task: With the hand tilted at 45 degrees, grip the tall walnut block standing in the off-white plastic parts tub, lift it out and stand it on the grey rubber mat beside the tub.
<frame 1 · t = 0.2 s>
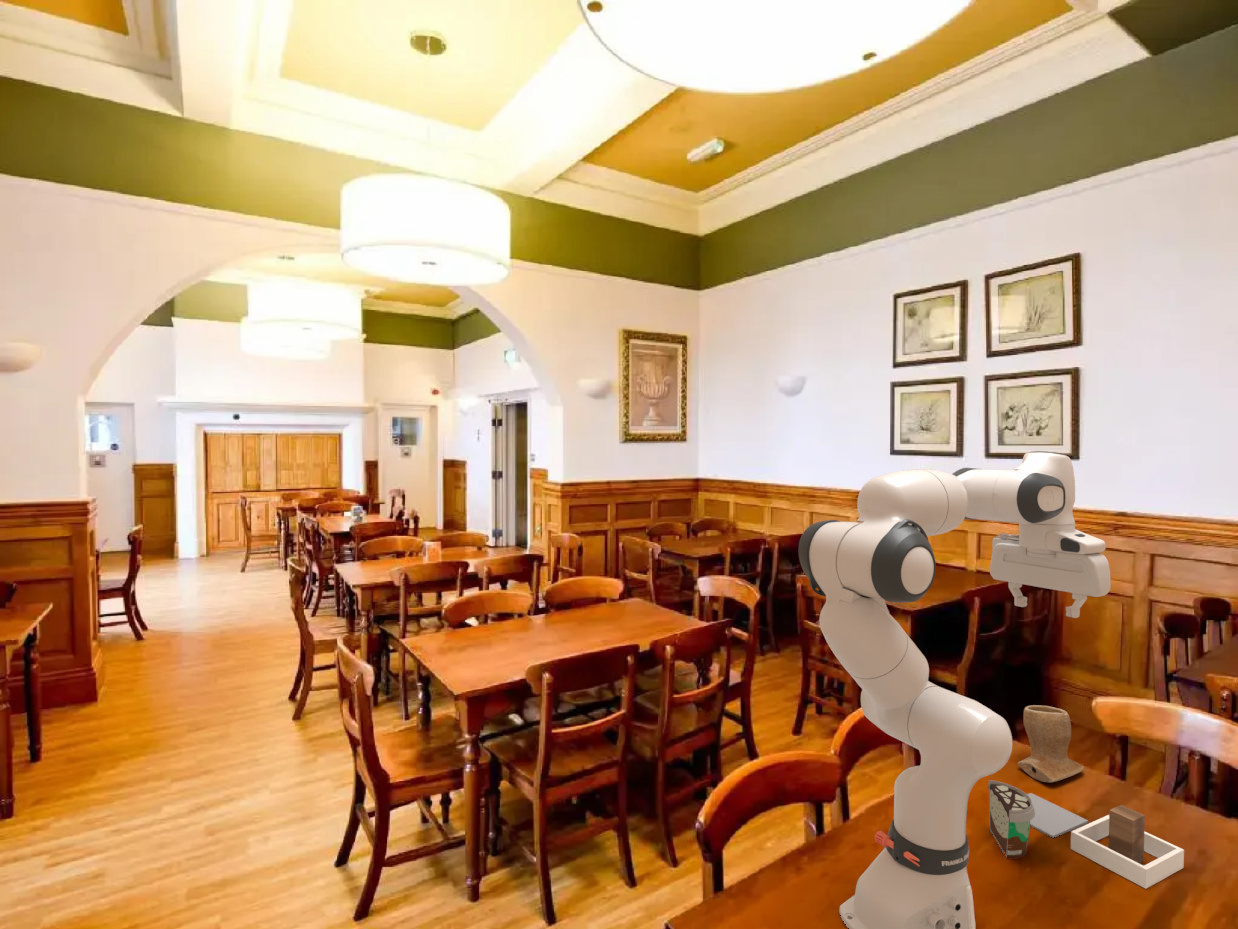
hand: (1045, 611, 125), 48 cm above the table, tool pointing down, fingers open, 8 cm apart
walnut block: (1126, 835, 127), in the parts tub
food container: (1014, 846, 131), on the table
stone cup: (1046, 772, 160), on the table
rubber mat: (1041, 815, 142), on the table
parts tub: (1125, 858, 127), on the table
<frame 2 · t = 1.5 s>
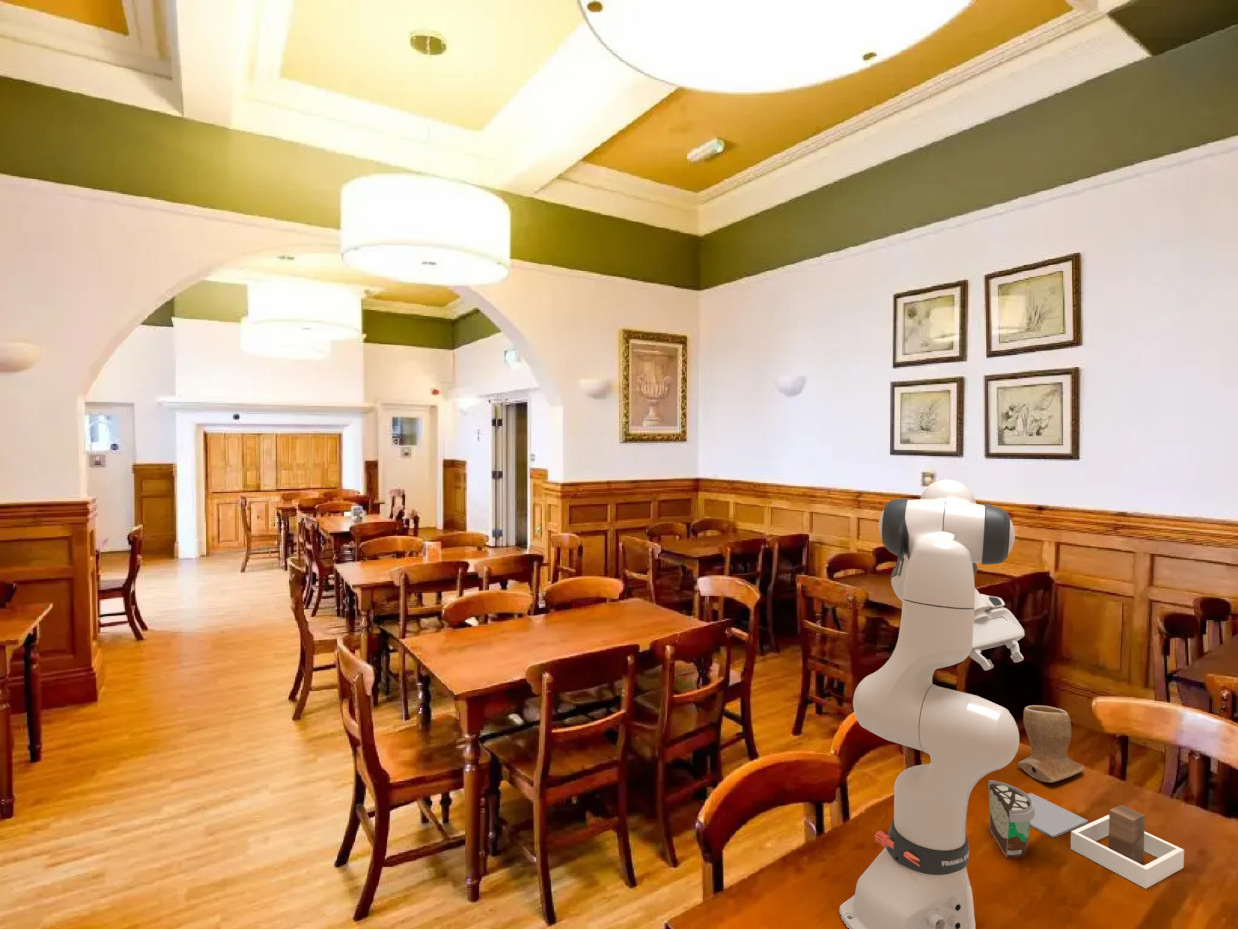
hand: (1004, 665, 148), 30 cm above the table, tool tilted 45°, fingers open, 8 cm apart
nothing on the table moved.
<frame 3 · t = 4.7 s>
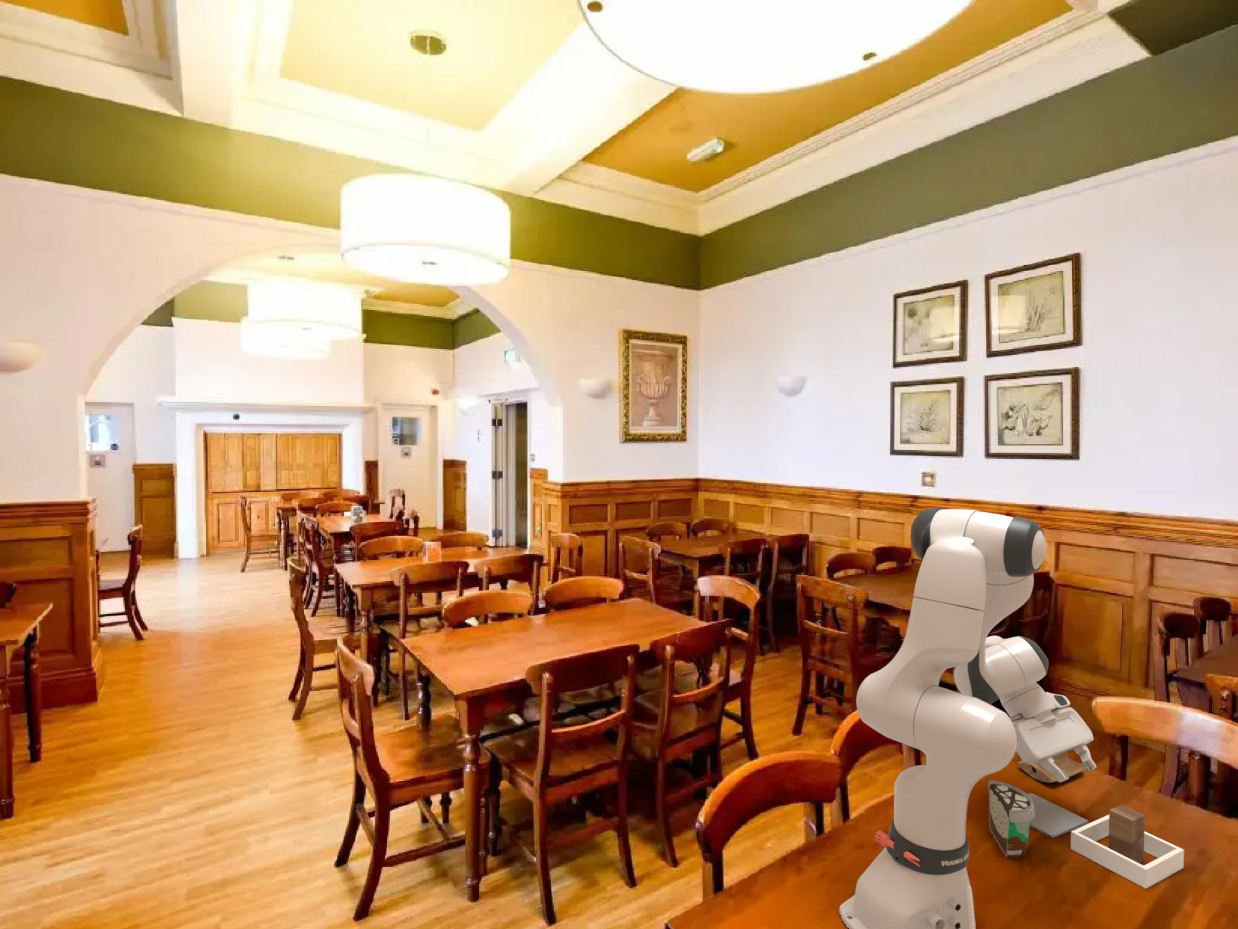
hand: (1078, 775, 135), 12 cm above the table, tool tilted 45°, fingers open, 8 cm apart
nothing on the table moved.
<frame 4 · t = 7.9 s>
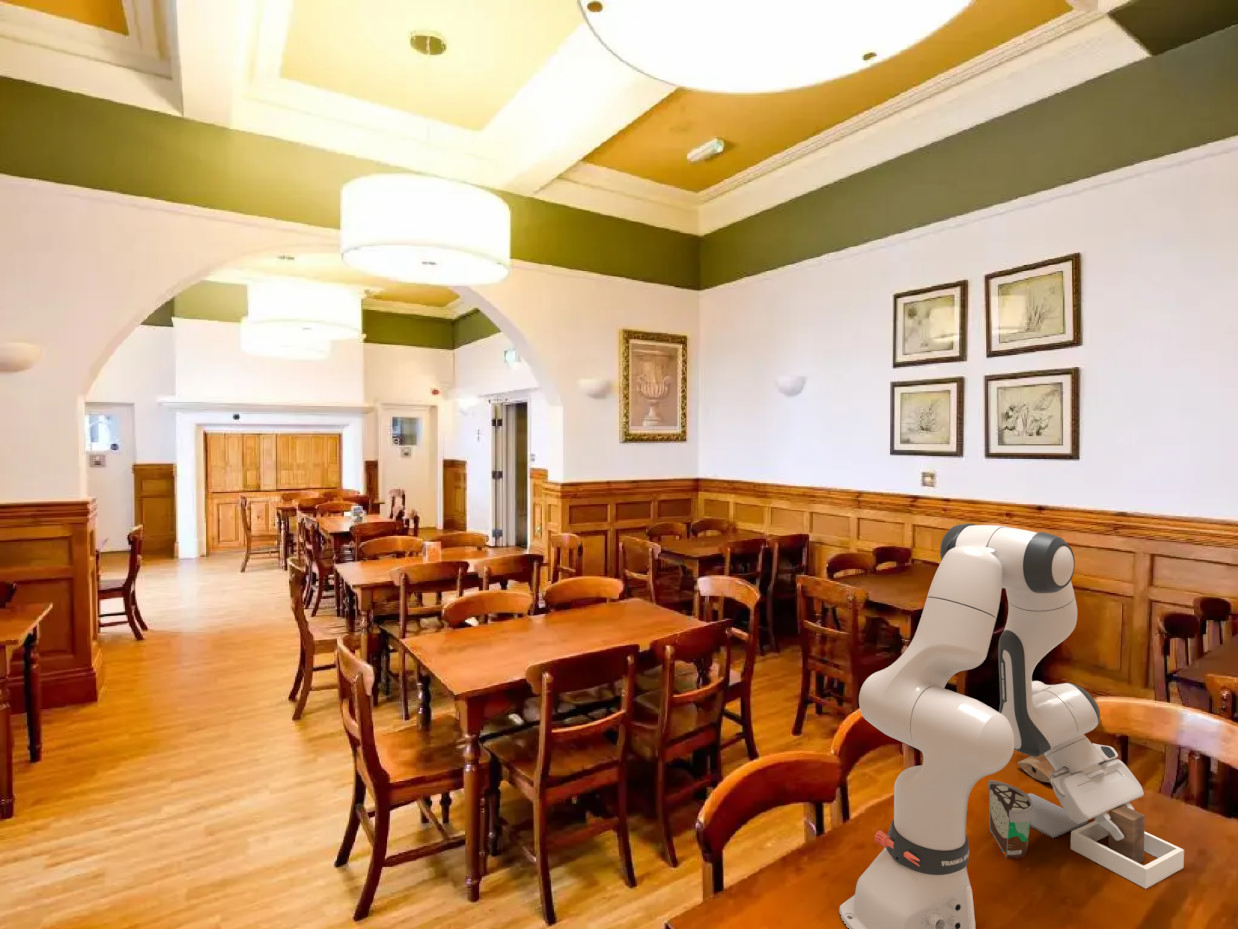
hand: (1130, 835, 126), 5 cm above the table, tool tilted 45°, fingers closed on walnut block, 4 cm apart
walnut block: (1126, 835, 127), in the parts tub, touching gripper
everything else where it was.
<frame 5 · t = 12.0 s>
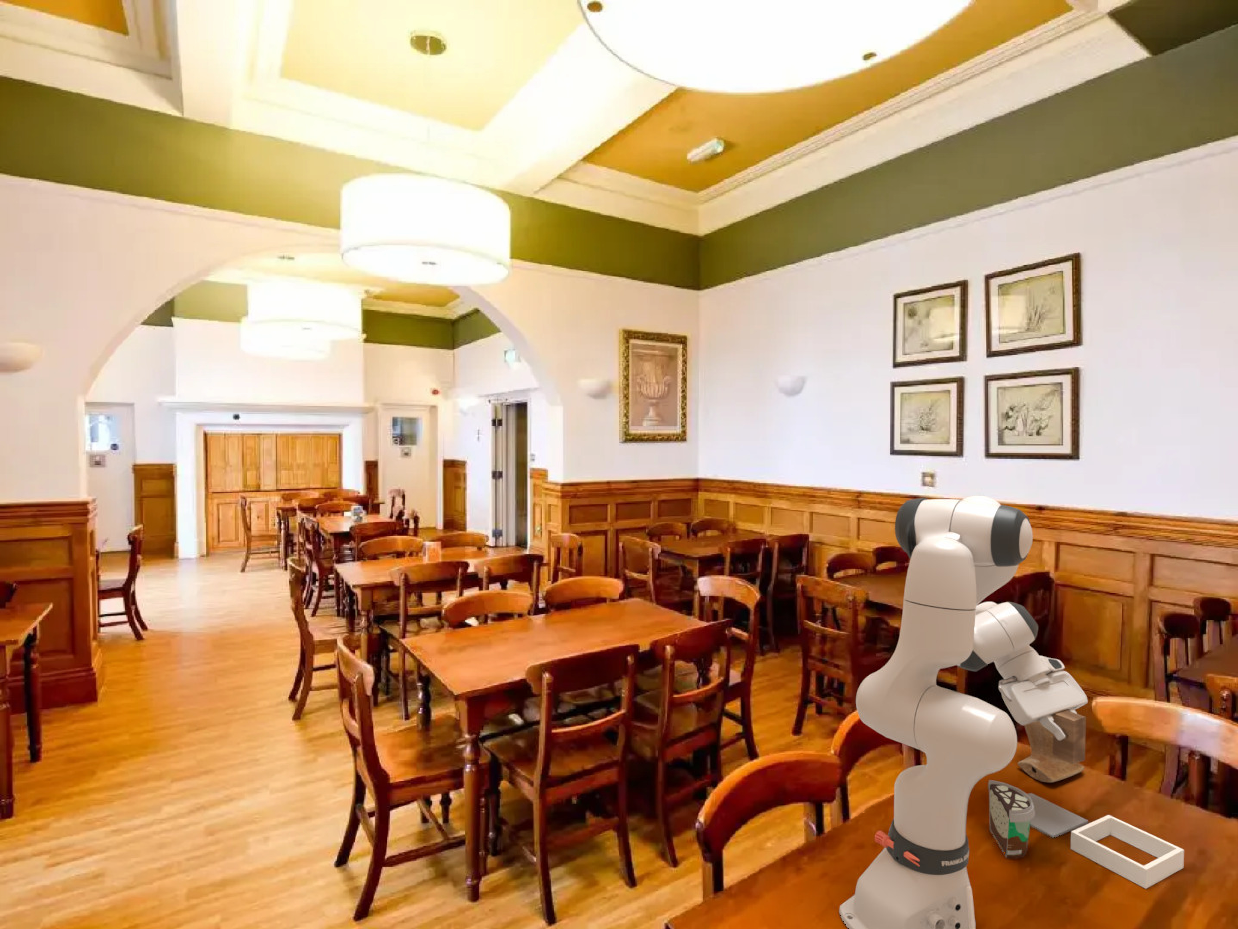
hand: (1072, 736, 136), 20 cm above the table, tool tilted 45°, fingers closed on walnut block, 4 cm apart
walnut block: (1069, 736, 136), point 19 cm above the table, touching gripper
everything else where it was.
when the fingers open (7 cm above the table, at t = 15.9 s): walnut block drops 1 cm, resting on rubber mat.
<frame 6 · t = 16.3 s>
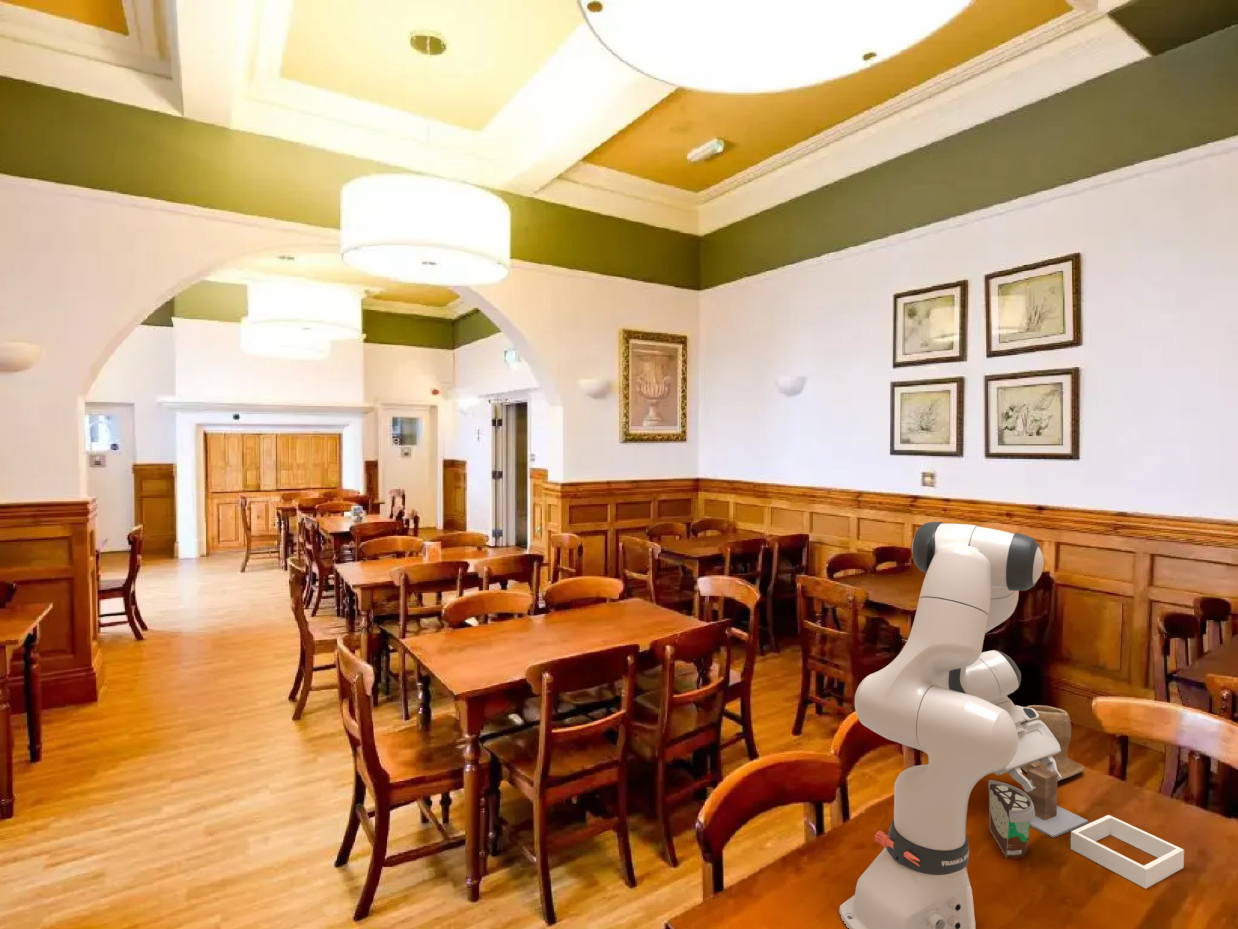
hand: (1045, 785, 141), 7 cm above the table, tool tilted 45°, fingers open, 8 cm apart
walnut block: (1041, 792, 141), on the rubber mat
everything else where it was.
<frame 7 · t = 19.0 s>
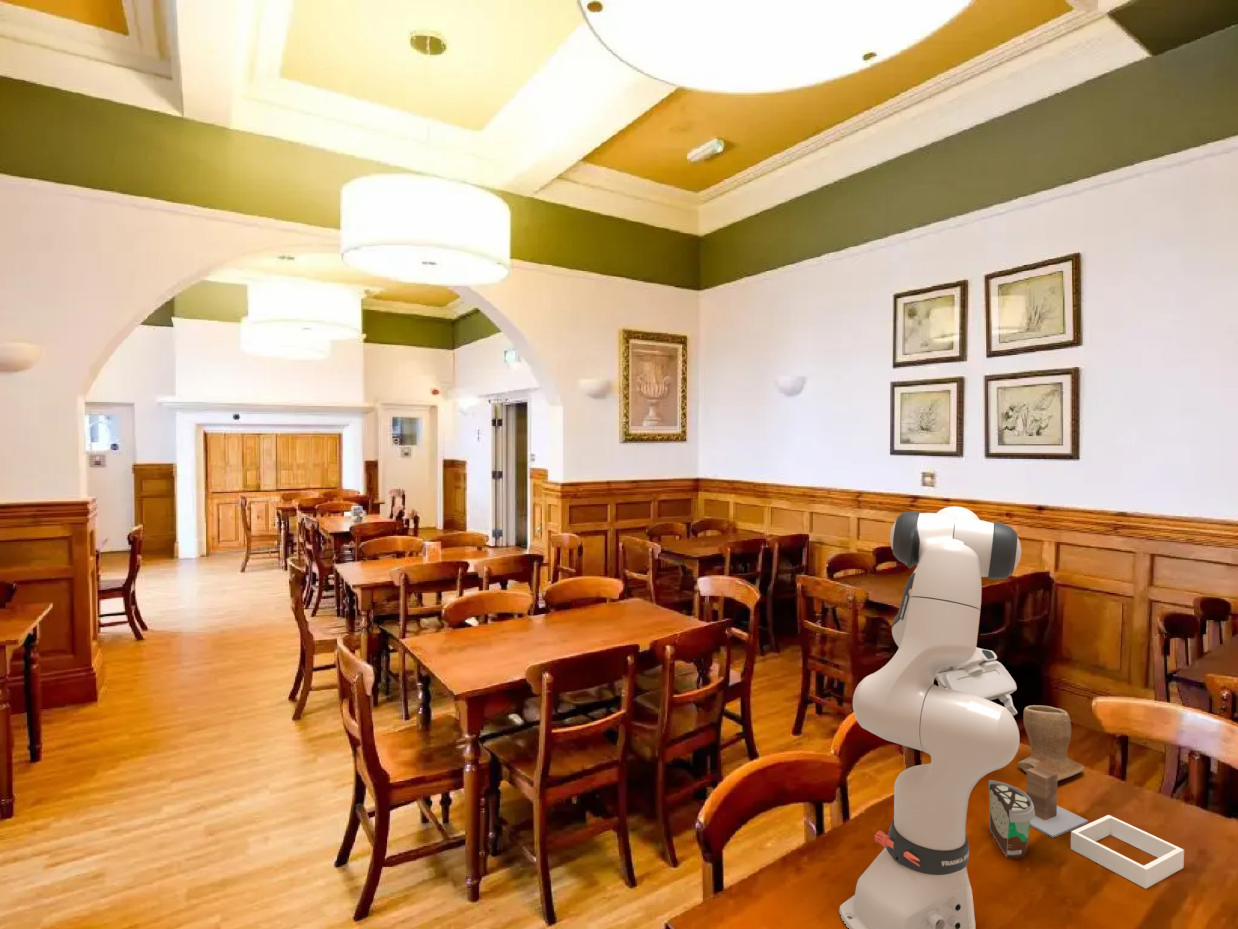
hand: (1000, 719, 149), 17 cm above the table, tool tilted 45°, fingers open, 8 cm apart
nothing on the table moved.
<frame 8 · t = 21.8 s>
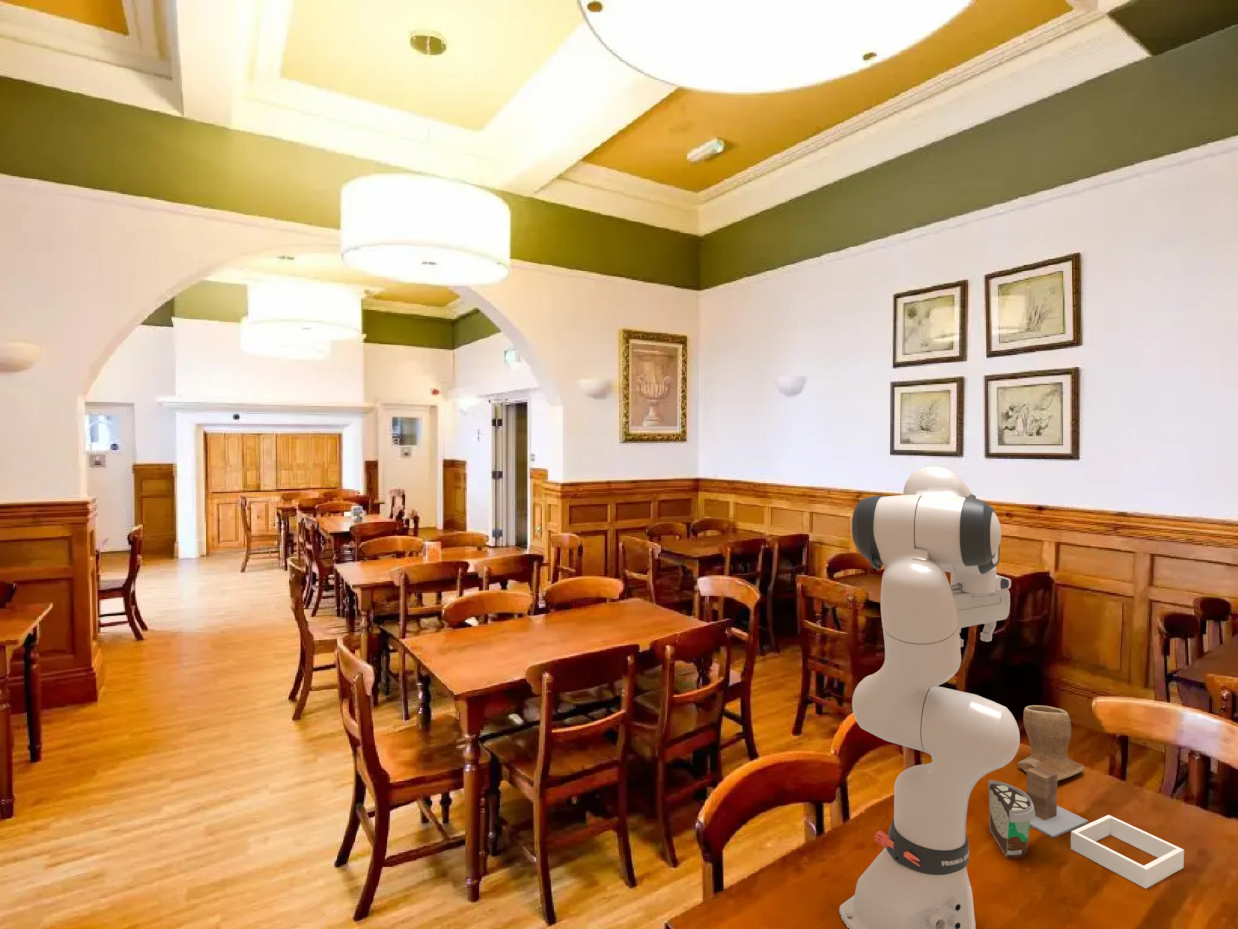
hand: (972, 643, 146), 35 cm above the table, tool pointing down, fingers open, 8 cm apart
nothing on the table moved.
at the end: walnut block inside the target area (0.1 cm from its centre), point 5.0 cm above the table; walnut block tilted 0°; the gripper is holding nothing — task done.
